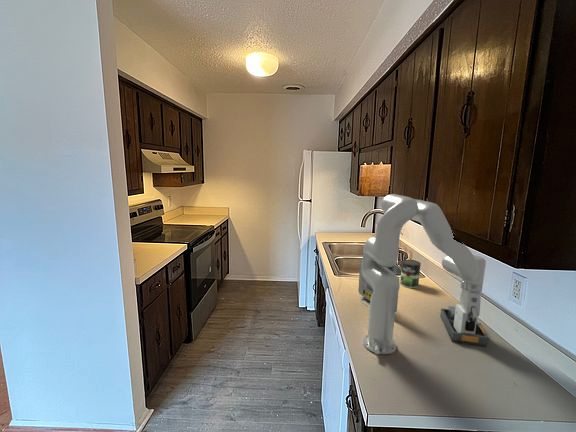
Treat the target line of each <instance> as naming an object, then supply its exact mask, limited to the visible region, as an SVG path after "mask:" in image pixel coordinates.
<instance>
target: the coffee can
mask: <svg viewBox="0 0 576 432" xmlns="http://www.w3.org/2000/svg"><path fill="white" fill-rule="evenodd" d="M421 266H422V263H421V262H420V261H419V260H418V261H417V260H416V259H401V272H400V279H399V282H400V286H402V287H404V288H408V289H416V288H419V284H420V283H419V281H420V273H421Z"/></svg>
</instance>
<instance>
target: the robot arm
mask: <svg viewBox="0 0 576 432" xmlns="http://www.w3.org/2000/svg"><path fill="white" fill-rule="evenodd" d="M380 205H381V210H382V212H384V214H382V216H381V217H380V218H379V220H378V221H377V225H376V230H375V236H371V237H369V238H368V239H367V240H366V241H365V243H364V245H363V249H362V261H361V262H362V274H363V278H364V279H365V281H366V282H367V283H368V284H369V285H370V286H371V287H372V288H373V294H372V296H371V299H370V301H369V304H370V308H368V325H367V326H368V328H367V335H365V336H364V337H363V340H362V344H363V346H364V348H366V349H367V350H369V351H371V352H372V353H374V354H376V355H391V354H394V353H395V352H396V351H397V343H396V341H395V340H394V339H393V338H394V327H395V317H396V316H395V315H396V314H395V306H396V299H397V295H398V296H399V291H400V287H401V284H400V278H399V279H398V277H399V276H398V275H396V274H395V272H393V270H391V269H390V268H392V267H394V266H395V265H396V264H397V262H398V259H399V251H400V249H399V248H400V235H401V231H402V229H403V227H404V226H405V225H406V223H408V222H409V221H410V220H411V221H416V222H419V223H420V224H421V226H422V227H423V230H424V231H425V233H426V235H427V237H428V238H429V241H430V242H431V244H432V245H434V247H436V248H437V250H440V251H441V252H442V253H443V254H444V255H445V256H444V257H443V258H442V260H441V266H442V268H443V269H444V270H445V271H446V272H448V273H450V274H452V275H454V276H456V277H458V278H459V279H461V280H460V289H461V291H460V298H459V304H460V305H461V307H462V308H463V310H464V311H465V313H466V315H467V321H466V325H465V330H466V331H472V332H474V329H475V323H476V319H477V320H478V317H479V316H480V313H481V312H480V311H481V300H482V298H481V293H482V292H483V286H484V277H485V272H486V271H485V270H486V264H487V261H486V259H485V258H484V257H483V256H479V255H475V254H473V253H472V251H471V250H470V249H469V248H468V247H467V245H466V244H464V243H463V244H464V245H463V244H461V243H459V242H457V241H456V240H454V239H453V238H454V236H453V233H454V232H453V233H452V231H453V229H452V228H451V226H450V224H449V222H448V220H447V218H446V216H445V214H444V212H443V210H442V209H441V206H439V205H438V204H437V203H436V202H431V201H425V200H422V199H418V198H417V199H415V198H412V197H411V196H406V195H401V194H396V193H391V194H388V195H386V196H385V197H383V199H382V200H381V204H380ZM451 229H452V230H451ZM397 276H398V277H397ZM469 312H470V313H472V314H469ZM469 316H472V318H470V319H469Z"/></svg>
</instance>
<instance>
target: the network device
mask: <svg viewBox="0 0 576 432" xmlns="http://www.w3.org/2000/svg"><path fill="white" fill-rule="evenodd" d="M362 262H363V261H360V262H359V276H358V290H357V291H358V293H359V294H360V295H361V297H360V298H359V301H360V303H361V302H362V303H361V304H363V305H364V304H365V305H364V306H365V307H367V308H368V307H369V308H368V309H370V303H369V304H368V303H367V302H365V301H364V300H367V301H369V302H370V299H371V296H372V294H373V288H372V287H371V286H370V285H369V284H368V283H367V282H366V281H365V279H364V278H363V274H362ZM396 276H397V277H398V279H399V280H400V277H399V276H398V275H396ZM398 302H399V294H398V295H397V299H396V306H395V313H397V312H398Z"/></svg>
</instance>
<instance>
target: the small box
mask: <svg viewBox="0 0 576 432" xmlns="http://www.w3.org/2000/svg"><path fill="white" fill-rule="evenodd" d="M455 307H456V309H455V317H454V325H453V327H454V328H455V329H456V331H457V332H458V333H465V334H472V335H475V331H476V324H477V322H478V318H477V319H476V323H475V329H474V332H472V331H466V330H465V325H466V321H467V315H466V313H465V311H464V310H463V308H462V307H461V305H460V303H456V304H455ZM469 314H472V313H470V312H469ZM470 318H472V316H469V319H470Z"/></svg>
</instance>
